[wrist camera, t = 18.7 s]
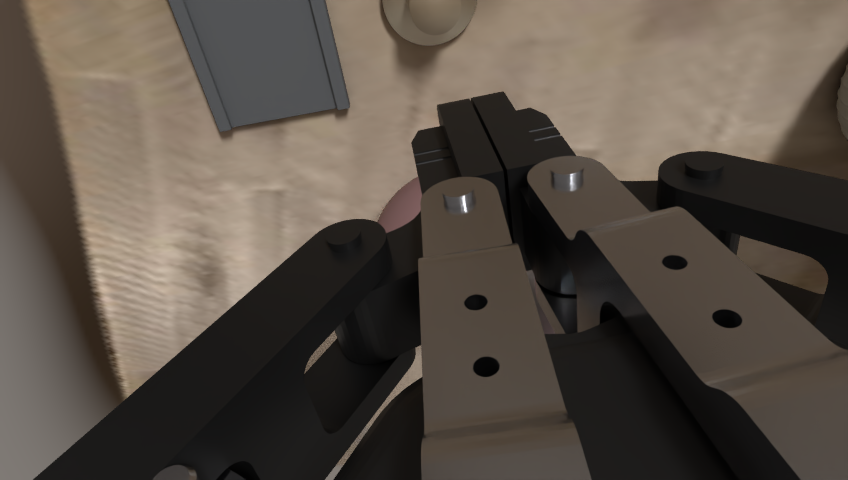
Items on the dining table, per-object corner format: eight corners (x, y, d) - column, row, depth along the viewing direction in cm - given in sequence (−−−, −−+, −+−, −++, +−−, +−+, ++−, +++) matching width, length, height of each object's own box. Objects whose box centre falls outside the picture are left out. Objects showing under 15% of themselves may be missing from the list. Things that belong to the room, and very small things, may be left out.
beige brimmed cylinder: (479, 34, 38) (490, 50, 35) (391, 50, 38) (394, 68, 35) (471, -66, 35) (481, -57, 32) (373, -48, 35) (375, -38, 32)
